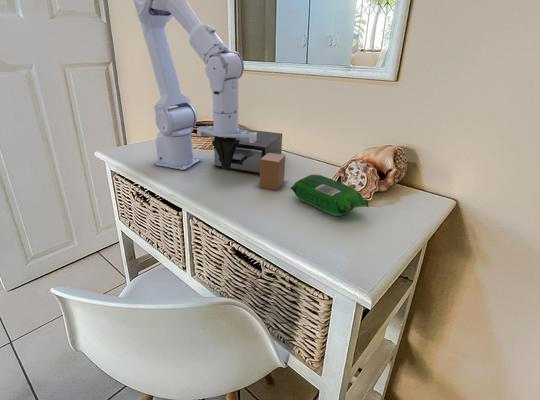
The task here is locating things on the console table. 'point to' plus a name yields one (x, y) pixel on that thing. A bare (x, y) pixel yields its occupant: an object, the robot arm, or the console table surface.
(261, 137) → the grey drawer cabinet
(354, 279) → the console table surface
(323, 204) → the snack package
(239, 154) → the drawer
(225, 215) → the console table surface
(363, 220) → the console table surface
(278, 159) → the tan upright block
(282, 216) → the console table surface
